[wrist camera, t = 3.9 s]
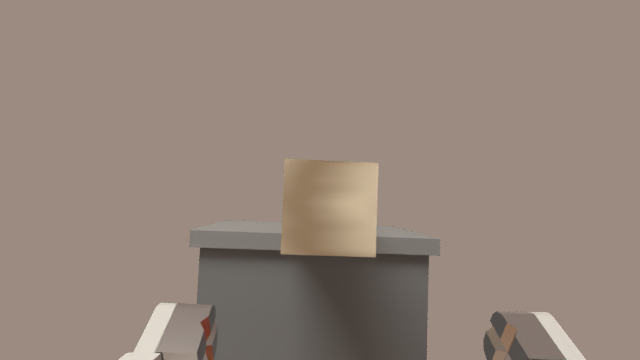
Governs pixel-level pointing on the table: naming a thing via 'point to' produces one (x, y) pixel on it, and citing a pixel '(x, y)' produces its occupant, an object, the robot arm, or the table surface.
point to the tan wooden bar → (329, 208)
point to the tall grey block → (314, 295)
